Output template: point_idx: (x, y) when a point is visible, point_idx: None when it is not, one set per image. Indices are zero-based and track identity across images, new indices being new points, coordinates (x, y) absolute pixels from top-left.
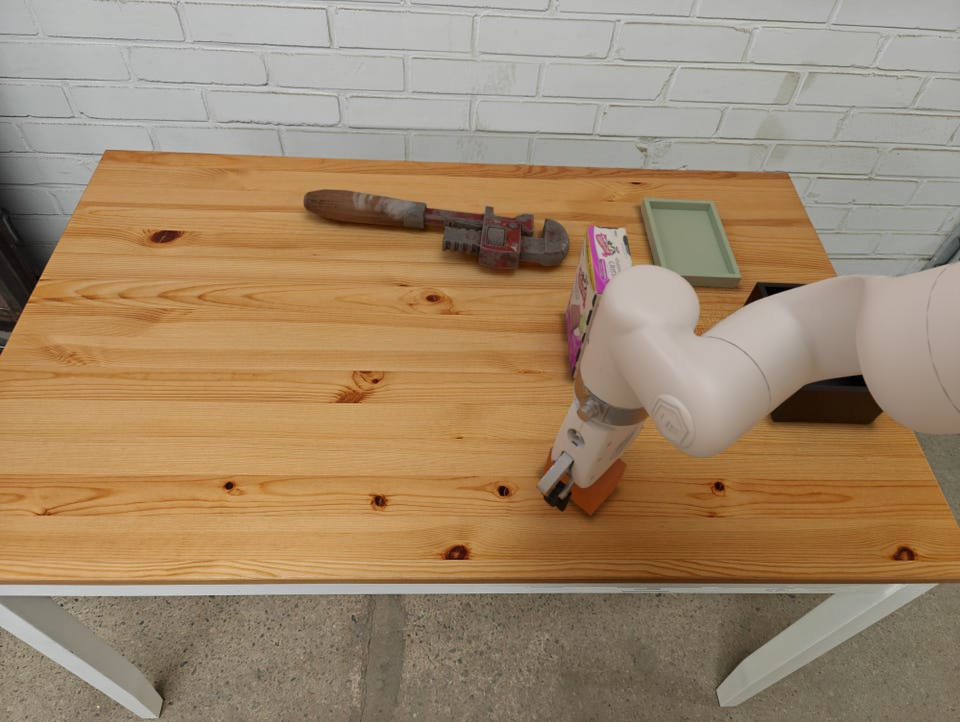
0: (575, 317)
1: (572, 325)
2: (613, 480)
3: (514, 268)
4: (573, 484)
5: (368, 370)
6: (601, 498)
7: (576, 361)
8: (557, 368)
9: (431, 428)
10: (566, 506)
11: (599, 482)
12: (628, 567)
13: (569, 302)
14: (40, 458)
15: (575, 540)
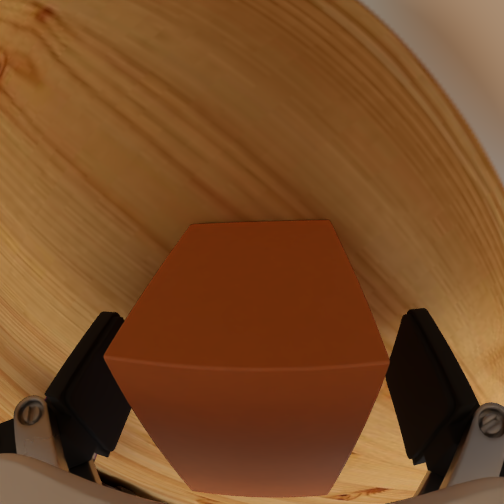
0: None
1: None
2: (242, 345)
3: (112, 487)
4: (475, 470)
5: (337, 499)
6: (306, 263)
7: (94, 460)
8: (124, 432)
9: (361, 465)
10: (423, 324)
11: (340, 399)
12: (372, 23)
13: None
14: None
15: (423, 200)
